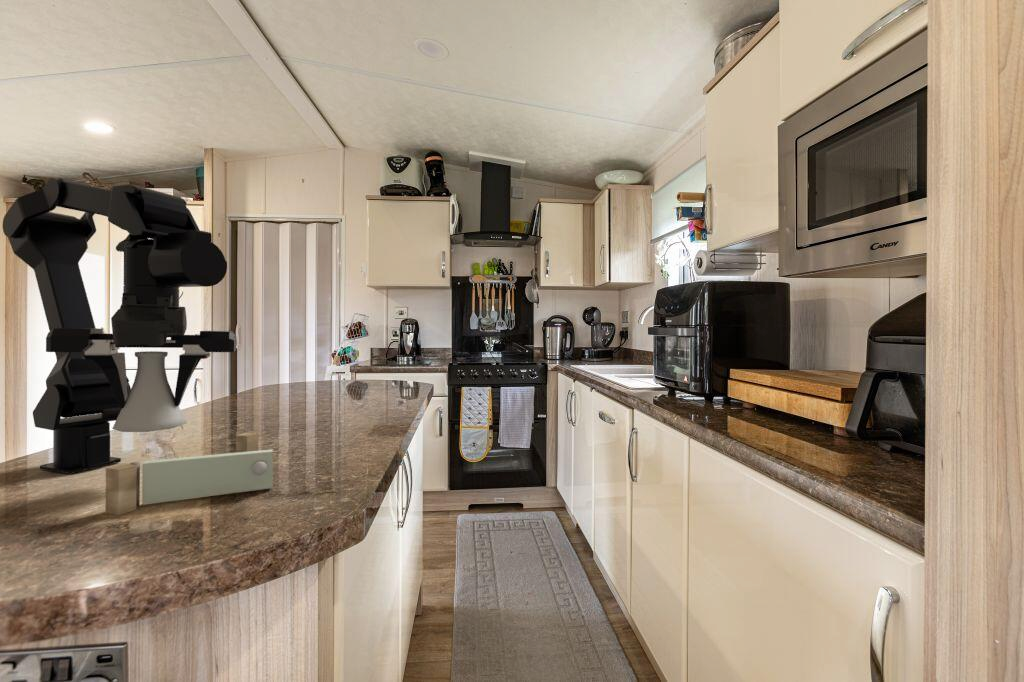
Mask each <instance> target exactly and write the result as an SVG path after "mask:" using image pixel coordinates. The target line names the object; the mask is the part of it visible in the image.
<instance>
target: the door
mask: <svg viewBox="0 0 1024 682" xmlns="http://www.w3.org/2000/svg"><path fill="white" fill-rule="evenodd" d="M273 467H274V449H273V448H272V449H263V450H258V451H249V452H238V453H236V452H230V453H229V452H227V453H218V454H217V453H216V454H209V455H208V454H207V455H194V456H186V457H184V456H183V457H176V458H175V457H173V458H164V459H163V458H162V459H161V458H160V459H152V460H150V459H149V460H144V461H143V462H142V468H141V469H142V477H141V478H142V480H141V483H142V484H141V485H142V487H141V488H142V489H141V494H142V495H141V496H142V497H141V503H142V505H149V504H157V503H158V504H159V503H164V502H172V501H181V500H189V499H196V498H204V497H211V496H219V495H228V494H236V493H237V494H238V493H243V492H250V491H252V492H253V491H260V490H268V489H273V488H274V487H273V485H274V484H273V481H274V480H273V476H274V468H273Z"/></svg>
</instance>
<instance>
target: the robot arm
mask: <svg viewBox="0 0 1024 682" xmlns="http://www.w3.org/2000/svg"><path fill="white" fill-rule="evenodd" d="M187 204H188V203H187V201H186V200H185V198H183V197H181V196H176V195H174V194H173V195H172V194H169V193H165V192H162V191H158V190H154V189H152V188H151V189H150V188H146V187H143V186H140V185H137V184H136V185H135V184H133V183H132V184H131V183H124V184H114V185H112V186H111V189H109V188H104V187H100V186H99V187H98V186H94V185H93V186H92V185H91V184H86V183H82V182H78V181H75V180H70V179H67V178H62V177H57V178H55V177H52V178H49V179H48V180H47V181H46V183H45V184H44V185H43V187H42V188H40V189H38V190H35V191H32V192H29V193H27V194H24V195H21V196H19V197H17V198H16V199H15V200H14V201H13V203H12V204H11V206H10V207H9V209H8V210H7V211H6V213H5V215H4V217H3V218H2V219H3V220H2V230H3V233H4V236H6V237H7V238H8V239H7V240H8V242H9V245H10V246H11V249H12V251H13V254H14V255H15V256H16V257H17V258H19V259H20V260H22V261H23V262H24V263H25V264H26V265H27V266H29V267H30V268H31V269H33V272H34V275H35V279H36V282H37V287H38V290H39V295H40V298H41V299H40V300H41V304H42V306H43V310H44V314H45V318H46V323H47V326H48V330H49V331H48V333H47V334H46V336H45V337H46V338H45V352H47V353H54V354H55V357H56V362H55V364H54V366H53V367H52V369H51V371H50V373H49V374H48V375H47V377H46V379H45V386H46V389H45V391H44V393H43V394H42V396H41V397H40V399H39V401H38V402H37V404H36V406H35V407H34V409H33V410H32V418H33V422H34V427H35V428H38V429H44V430H49V431H53V432H52V433H53V452H52V453H53V457H52V458H53V459H52V461H53V462H49V463H45V464H40V465H39V469H40V470H42V471H43V470H44V471H49V472H50V471H51V472H55V473H62V474H67V475H68V474H76V473H79V472H83V471H88V470H92V469H96V468H100V467H103V466H108V465H112V464H116V463H120V462H121V461H122V458H121V457H115V456H111V433H110V432H111V430H110V429H111V427H110V426H111V424H110V422H113V421H114V422H116V420H117V418H118V416H119V413H120V411H121V409H123V408H124V406H125V401H126V399H127V397H128V395H129V392H130V390H131V388H132V387H131V385H130V383H129V382H130V379H129V378H128V376H127V368H126V367H127V365H126V364H127V363H126V352H118V351H119V350H120V348H142V349H143V348H146V349H147V348H154V349H156V348H160V349H161V348H162V349H163V348H165V349H168V348H169V349H171V348H173V349H174V348H175V349H178V348H180V349H182V351H184V353H181V354H179V355H178V357H179V358H178V359H179V360H178V364H179V365H178V371H177V372H178V373H177V378H176V386H175V392H174V397H175V406H179V407H180V405H181V402H182V400H183V397H184V394H185V392H186V390H187V387H188V385H189V383H190V380H191V378H192V375H193V374H194V371H195V370H196V368H197V367H198V365H199V363H200V361H201V360H205V359H208V358H210V357H211V353H235V352H236V351H237V334H235V333H234V332H233V331H232V330H230V331H229V330H200V331H199V334H186V332H187V327H188V326H187V323H188V321H187V312H186V311H187V310H186V307H185V306H180V288H194V287H195V288H196V287H197V288H198V287H200V288H201V287H202V288H203V287H204V288H205V287H213V286H216V285H217V284H219V283H220V282H222V280H223V279H224V278H225V276H226V274H227V271H228V261H227V260H226V257H225V255H224V253H223V251H222V250H221V249H220V248H219V247H218V245H216V244H215V243H214V242H212V238H213V237H212V233H211V232H209V231H204V230H200V228H199V225H198V224H197V222H196V220H195V218H194V217H193V215H192V213H191V210H190V209H189V208H188V207H187ZM57 207H58V208H62V209H63V208H64V209H69V210H74V211H79V212H84V213H83V215H82V216H80V218H78V217H75V215H74V216H72V215H68V214H63V213H58V212H52V211H54V210H55V209H56V208H57ZM94 215H100V216H103V217H107V221H108V222H109V223H111V224H112V225H114V226H116V227H118V228H119V229H121V230H123V231H127V233H128V235H127V236H126V237H125V239H123V240H121V241H119V242H118V243H117V244H116V246H115V250H116V252H121V253H123V292H122V297H121V305H120V307H119V308H118V309H117V310H116V311H115V312H114V314H113V315H112V316H111V318H110V320H111V330H112V333H104V329H103V328H97V327H96V324H95V322H94V321H95V319H94V317H93V314H92V309H91V305H90V303H89V302H90V301H89V298H88V296H87V292H86V288H85V284H84V281H83V277H82V273H81V272H82V271H81V269H80V265H79V263H80V261H81V259H82V258H83V256H84V255H85V253H86V252H87V250H88V248H89V247H88V242H89V241H90V240H91V238H92V237H93V236H94V235H95V234H96V232H97V228H96V224H95V221H94ZM168 338H170V339H168Z"/></svg>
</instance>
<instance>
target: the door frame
mask: <svg viewBox="0 0 1024 682" xmlns="http://www.w3.org/2000/svg"><path fill="white" fill-rule="evenodd" d="M249 451H259V433H255V432H250V431H249V432H244V433H243V432H242V433H238V434H236V435H235V453H238V452H249ZM140 475H141V462H140V461H134V462H130V463H125V462H124V463H120V464H116V465H112V466H107V467H105V514H109V515H110V514H111V515H116V516H120V515H123V514H126V513H130V512H132V511H135V510H137V508H138V507H139V506H140V503H141V501H140V495H141V494H140V491H141V490H140V489H141V488H140V487H141V486H140V484H141V482H140V480H141V476H140Z"/></svg>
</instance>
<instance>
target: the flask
mask: <svg viewBox="0 0 1024 682" xmlns="http://www.w3.org/2000/svg"><path fill="white" fill-rule="evenodd" d="M168 354H169V352H168V351H157V350H156V351H155V350H154V351H153V350H152V351H146V350H145V351H135V352H134V356H135V358H137V369H136V372H135V376H134V381H133V383H132V386H131V387H130V388H131V390H130V392H129V395H128V397H127V399H126V401H125V406H124V408H123V409H121V411H120V413H119V416H118V418H117V420H115V421H114V424H113V426H112V428H111V429H112V430H114V431H118V432H121V433H150V432H156V431H157V432H158V431H163V430H170V429H174V428H177V427H180V426H183V425H186V424H187V422H186V419H185V416H184V414H183V412H182V410H181V408H180V405H179V406H175V394H174V393H173V390H172V388H171V385H170V383H169V380H168V376H167V373H166V372H167V371H166V368H165V367H166V364H165V361H166V357H167V356H168Z"/></svg>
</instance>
